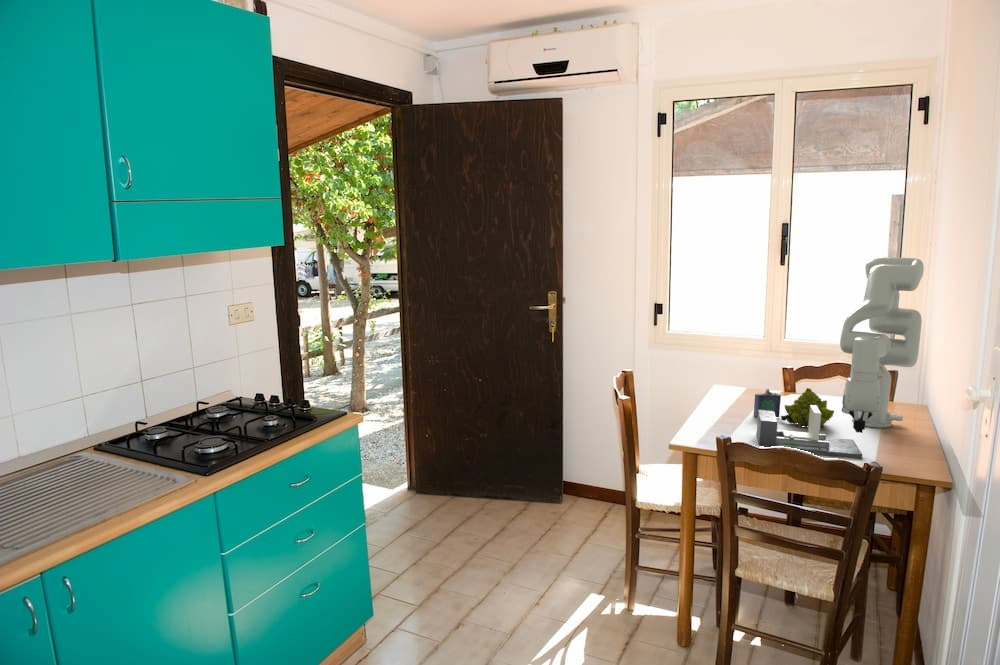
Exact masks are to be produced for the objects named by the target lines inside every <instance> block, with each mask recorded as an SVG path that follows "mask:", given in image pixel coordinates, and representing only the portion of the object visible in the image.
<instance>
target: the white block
mask: <svg viewBox="0 0 1000 665" xmlns="http://www.w3.org/2000/svg"><path fill="white" fill-rule="evenodd" d="M820 421H821V412H820V410H819V409H818V407H817V405H810V412H809V424H808V427H807V432H806V431H805V432H804V431H793V430H785V429H784V430H782V431H783V432H782V437H785V438H791V440H794V438H797V439H808V440H819V434H820V431H821V429H820Z"/></svg>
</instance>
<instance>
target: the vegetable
mask: <svg viewBox="0 0 1000 665" xmlns="http://www.w3.org/2000/svg"><path fill="white" fill-rule="evenodd" d="M810 405H817V407H818V409H819V410H820V412H821V421H820V430H822V429H823V428H824V427H825V424H826V423H827V422H828V421H830V419H832V418H833V417H834V416H833V415H834V412H835V410H831V409H828V408H827V407H828V400H822V398H821V397H820V396H819V395H817V394H816V392H814V391H812V389H811V388H810V387H809V388H808V387H807V388H806V389H805V391H804V392H802V393H801V394H800V395H799V396H798V397H797V399H794V400H793V403H792V404H791V405H788V404H785V405H784V409H785V411H786V413H787V414H785V415H780V418H781V421H783V422H784V421H787V422H788V423H790V424H796V423H798V424H797V426H798V427H800V428H803V427H802V426H808V424H809V412H810Z"/></svg>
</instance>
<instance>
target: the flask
mask: <svg viewBox="0 0 1000 665" xmlns="http://www.w3.org/2000/svg"><path fill="white" fill-rule="evenodd" d="M781 397H782V395H781V394H779V393H776V392H771V391H770V389H769V388H767V389H765V392H764V393H763V392H762V393H758V392H757V393H755V394H754V402H753V403H754V405H753V417H754V418H757V417H758V410H767V411H774V412H775V416H776V417H779V418H780V412H781V408H780V407H781Z"/></svg>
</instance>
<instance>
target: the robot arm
mask: <svg viewBox="0 0 1000 665" xmlns="http://www.w3.org/2000/svg"><path fill="white" fill-rule="evenodd" d="M924 269H925V268H924V263H923V261H922V260H921V259H920V258H916V257H893V256H891V257H890V256H878V257H872V258H869V259H868V260H866V262H865V269H864V270H865V275H866V279H867V282H866V287H865V291H864V292H865V293H864V296H863V302H862V304H861V305H860V306H858V307H856V308H855V309H854V310H852V312H850V314H848V316H846V319H845V320H844V322H843V326H842V331H841V335H840V339H839V340H840V341H839V347H840V350H841V351H842V352H843V353H845V354H849V355H851V363H850V364H851V366H850V374H849V375H850V376H849V377H848V378H846V381H845V384H844V389H843V394H842V407H841V412H842V413H843V414H846V415H850V416H851V421H852V422H853V425H852V428H853V429H854V431H855V433H860V434H861V433H862V434H863V430H865V429H866V427H867V428H874V429H875V428H876V429H885V428H889V427H890V428H891V427H892V422H893V421H896V422H903V420H904V418H903V415H898V414H896V413H895V414H894V413H890V412H889V406H890V396H891V386H892V375H891V373H890V371H889V369H888V368H887V367H886V366H892V367H900V368H913V367H914V366H915V365H916V364H917V362H918V359H919V358H918V357H919V350H920V342H921V334H922V333H921V331H922V323H923V322H922V321H923V320H922V315H921V313H920V312H919V311H918V310H917V309H912V308H902V307H899V303H900V292H899V291H902V292H913V291H915V290H917V288H918V287H919V285H920V283H921V280H922V277H923V275H924ZM866 320H868V326H869V330H870V331H872V332H868V331H855V330H854V328H855V326H856V325H858V324H860V323H861V322H863V321H866ZM888 335H890V336H891V335H893V336H902V337H904V339H901V338H899V339H898V338H891V337H889V336H888Z"/></svg>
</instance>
